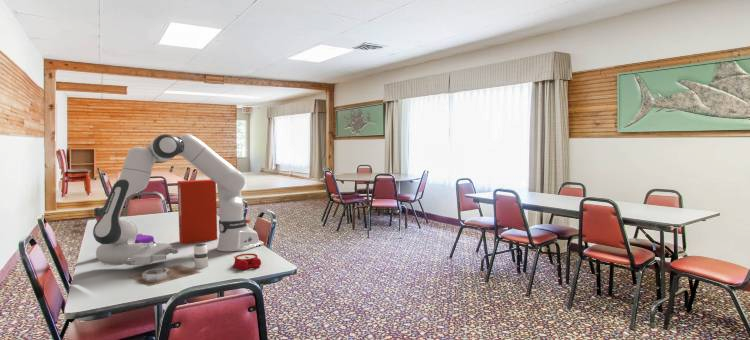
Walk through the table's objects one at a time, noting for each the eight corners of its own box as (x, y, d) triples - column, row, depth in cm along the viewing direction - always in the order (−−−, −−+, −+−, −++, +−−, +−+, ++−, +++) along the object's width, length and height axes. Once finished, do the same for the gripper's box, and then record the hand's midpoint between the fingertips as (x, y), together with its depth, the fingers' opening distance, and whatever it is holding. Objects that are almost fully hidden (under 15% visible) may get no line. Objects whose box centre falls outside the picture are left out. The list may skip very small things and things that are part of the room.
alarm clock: (254, 252, 185) (264, 251, 172) (255, 266, 184) (265, 267, 171) (230, 255, 179) (238, 255, 166) (231, 270, 178) (239, 271, 166)
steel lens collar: (162, 273, 163) (162, 266, 163) (173, 277, 158) (173, 270, 158) (139, 278, 156) (138, 272, 156) (150, 283, 151) (149, 276, 151)
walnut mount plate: (179, 267, 174) (179, 264, 174) (201, 274, 164) (201, 272, 164) (127, 279, 159) (127, 277, 158) (148, 288, 148) (148, 286, 148)
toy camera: (146, 261, 184) (145, 238, 183) (120, 259, 186) (119, 237, 186) (163, 254, 194) (163, 233, 194) (138, 253, 197) (137, 232, 196)
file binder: (217, 239, 224) (215, 180, 222) (182, 244, 214) (180, 182, 212) (213, 237, 231) (211, 179, 229) (179, 241, 221) (177, 181, 219)
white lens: (203, 266, 175) (203, 242, 174) (210, 268, 172) (209, 244, 171) (192, 269, 171) (191, 245, 170) (198, 271, 168) (198, 247, 167)
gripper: (122, 253, 161) (157, 253, 161) (151, 240, 182) (183, 241, 181) (122, 269, 162) (157, 269, 161) (152, 255, 182) (183, 255, 182)
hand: (171, 254), depth 171 cm, fingers open, 8 cm apart
